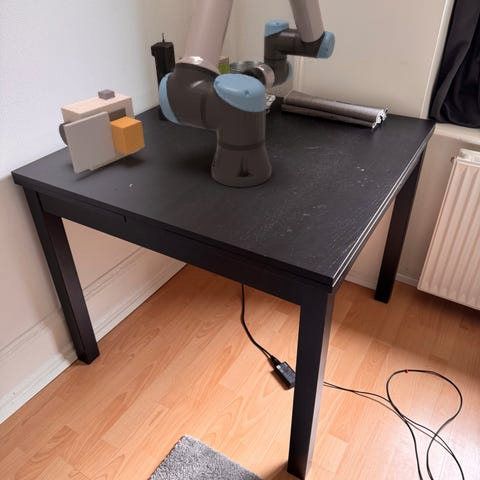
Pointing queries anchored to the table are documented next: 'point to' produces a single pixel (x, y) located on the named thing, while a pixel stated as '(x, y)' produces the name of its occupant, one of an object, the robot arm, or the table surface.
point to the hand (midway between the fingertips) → (211, 94)
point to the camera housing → (103, 102)
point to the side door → (101, 139)
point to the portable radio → (163, 63)
